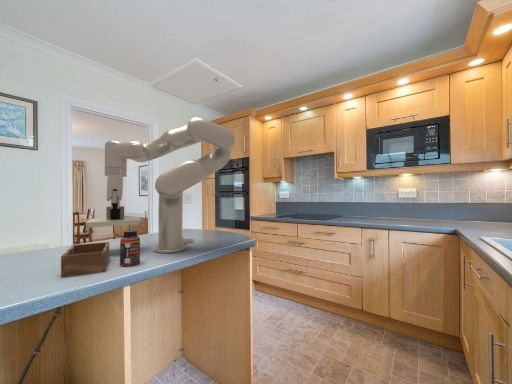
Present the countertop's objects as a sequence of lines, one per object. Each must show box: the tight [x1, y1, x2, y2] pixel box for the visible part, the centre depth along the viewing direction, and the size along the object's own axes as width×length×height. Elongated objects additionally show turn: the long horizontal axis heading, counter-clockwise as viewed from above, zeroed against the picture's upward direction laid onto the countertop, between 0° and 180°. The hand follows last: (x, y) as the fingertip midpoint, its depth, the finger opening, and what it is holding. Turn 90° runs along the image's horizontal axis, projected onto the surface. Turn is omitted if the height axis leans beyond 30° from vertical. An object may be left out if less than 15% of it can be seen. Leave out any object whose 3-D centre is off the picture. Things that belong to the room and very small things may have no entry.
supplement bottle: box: [119, 229, 141, 267], centre depth 79 cm, size 6×6×11 cm
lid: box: [84, 205, 142, 229], centre depth 93 cm, size 18×13×7 cm
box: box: [60, 241, 110, 278], centre depth 76 cm, size 16×11×6 cm
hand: (115, 218), depth 93 cm, fingers closed on lid, 2 cm apart
